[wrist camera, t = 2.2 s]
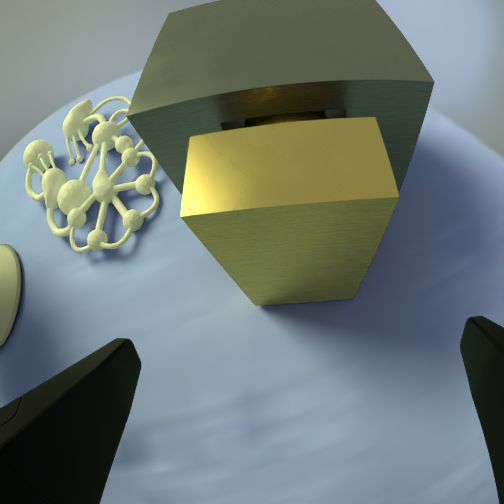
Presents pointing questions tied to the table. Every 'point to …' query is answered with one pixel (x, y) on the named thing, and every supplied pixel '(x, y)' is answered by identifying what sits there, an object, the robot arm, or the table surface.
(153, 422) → the table surface
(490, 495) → the table surface
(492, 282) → the table surface
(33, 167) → the tangled rod sculpture
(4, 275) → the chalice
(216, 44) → the housing
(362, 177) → the end cover
